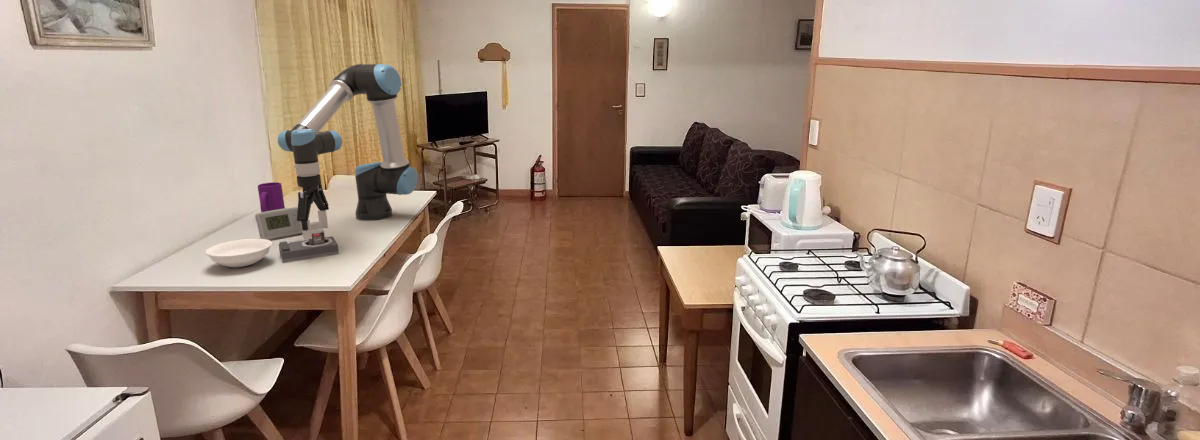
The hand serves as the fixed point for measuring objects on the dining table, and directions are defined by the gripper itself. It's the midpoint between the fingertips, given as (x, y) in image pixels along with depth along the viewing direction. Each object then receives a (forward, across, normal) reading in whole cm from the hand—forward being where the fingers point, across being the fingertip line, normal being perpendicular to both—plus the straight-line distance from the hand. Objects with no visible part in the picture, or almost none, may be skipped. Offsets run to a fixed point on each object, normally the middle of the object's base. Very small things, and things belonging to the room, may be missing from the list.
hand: (316, 233), depth 226 cm
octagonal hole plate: (+7, +2, -3) cm, 8 cm away
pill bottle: (+6, 0, 0) cm, 6 cm away
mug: (+7, -46, -40) cm, 61 cm away
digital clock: (+7, -20, -23) cm, 32 cm away
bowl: (+7, +13, -20) cm, 25 cm away
